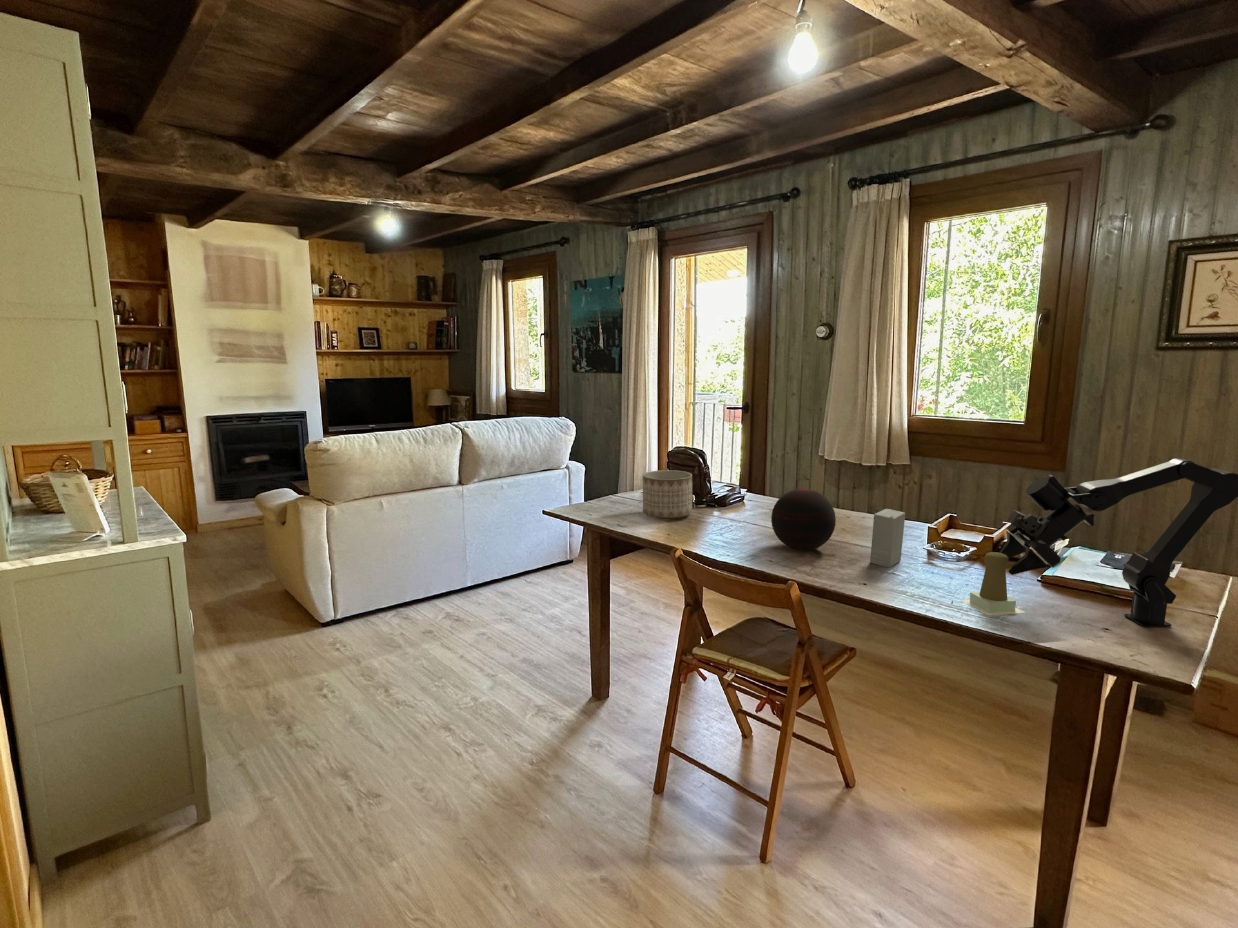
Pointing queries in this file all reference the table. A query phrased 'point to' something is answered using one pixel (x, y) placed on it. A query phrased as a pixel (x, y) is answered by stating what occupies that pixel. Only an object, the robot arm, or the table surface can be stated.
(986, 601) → the tower block
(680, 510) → the planter
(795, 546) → the decorative orb
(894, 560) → the skincare box
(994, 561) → the olive pawn shaped peg
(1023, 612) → the tower slab
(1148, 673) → the table surface
